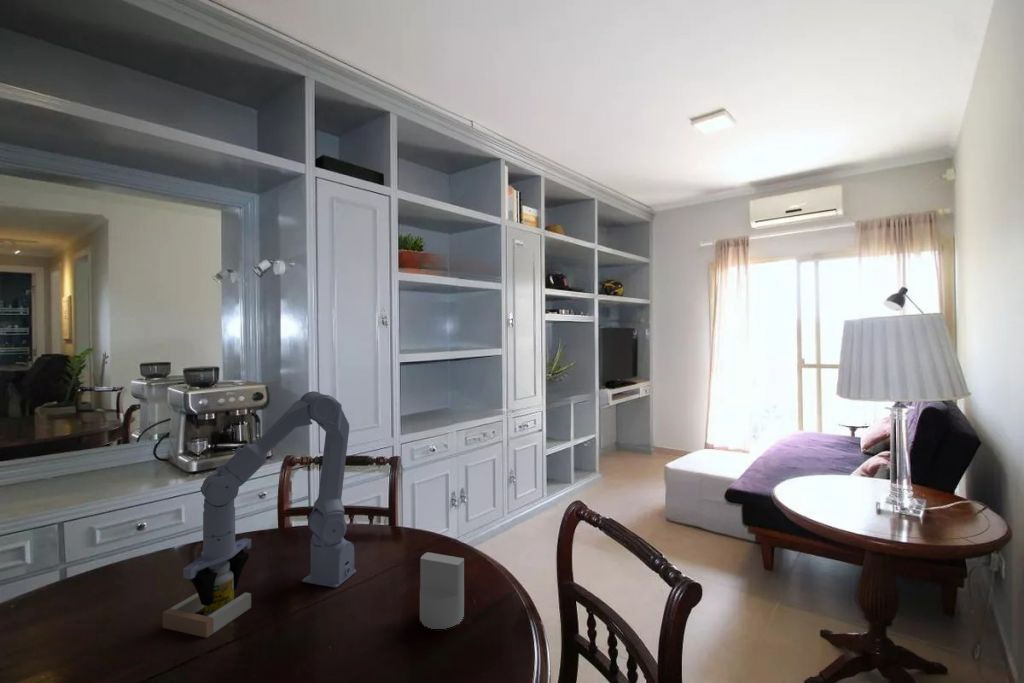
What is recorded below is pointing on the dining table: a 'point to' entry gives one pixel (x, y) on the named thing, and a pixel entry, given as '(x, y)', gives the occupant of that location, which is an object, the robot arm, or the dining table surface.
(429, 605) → the grey rounded block
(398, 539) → the dining table surface
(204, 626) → the frame
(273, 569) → the dining table surface
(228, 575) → the supplement bottle
